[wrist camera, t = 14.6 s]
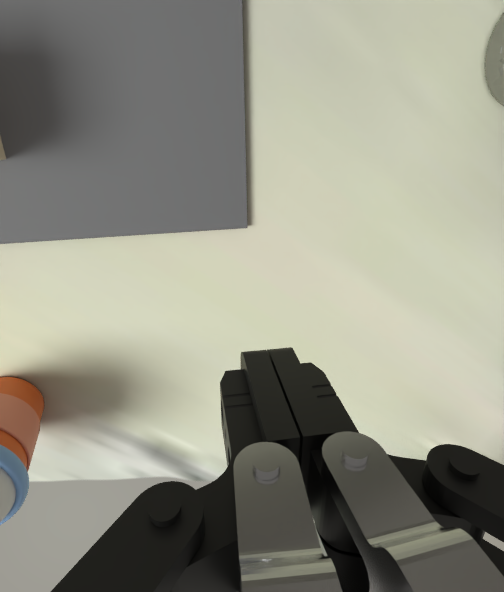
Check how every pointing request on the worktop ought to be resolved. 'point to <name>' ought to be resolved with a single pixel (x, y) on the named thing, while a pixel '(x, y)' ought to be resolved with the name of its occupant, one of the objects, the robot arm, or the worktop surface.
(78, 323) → the worktop surface
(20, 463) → the cup with straw
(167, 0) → the rubber mat
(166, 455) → the worktop surface
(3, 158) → the birch cube
